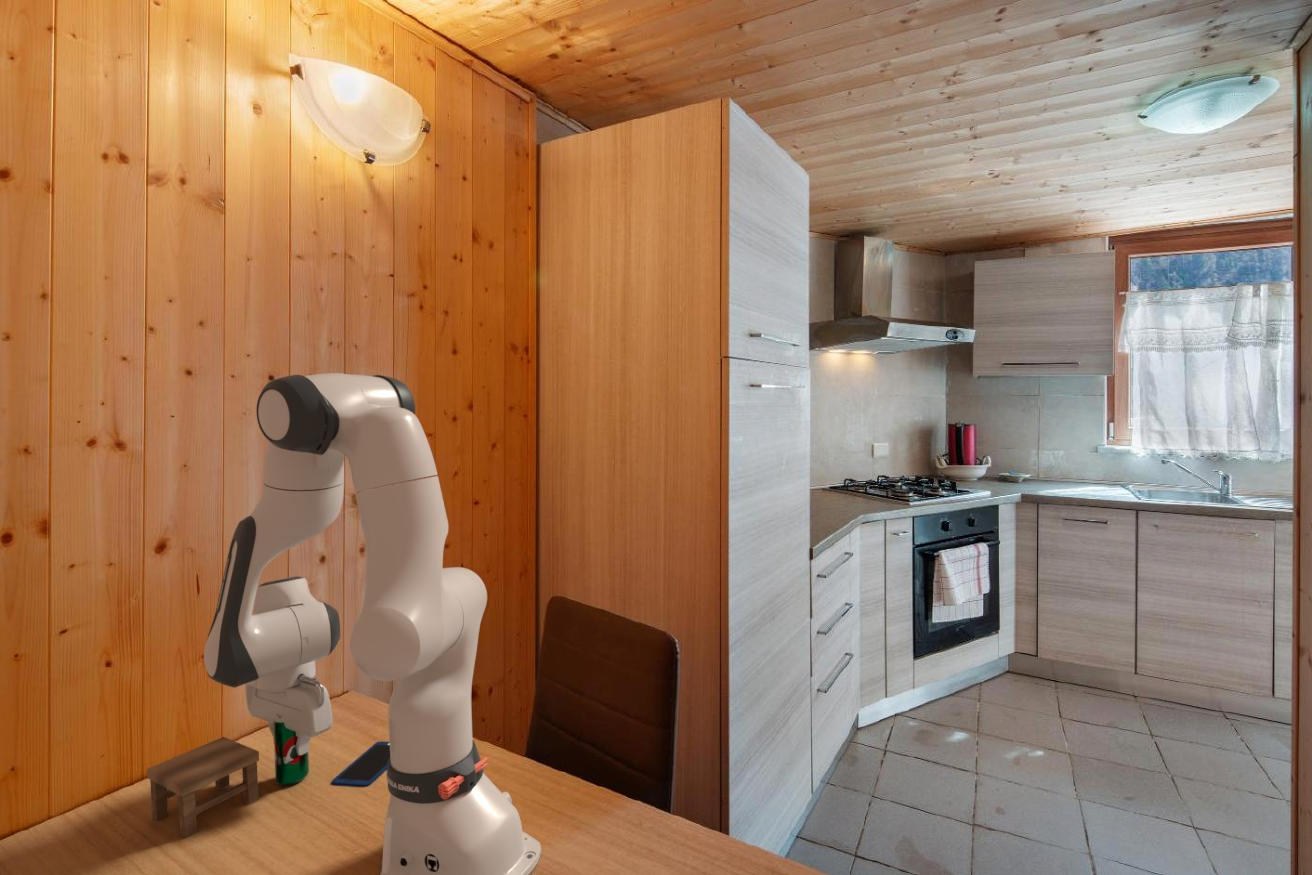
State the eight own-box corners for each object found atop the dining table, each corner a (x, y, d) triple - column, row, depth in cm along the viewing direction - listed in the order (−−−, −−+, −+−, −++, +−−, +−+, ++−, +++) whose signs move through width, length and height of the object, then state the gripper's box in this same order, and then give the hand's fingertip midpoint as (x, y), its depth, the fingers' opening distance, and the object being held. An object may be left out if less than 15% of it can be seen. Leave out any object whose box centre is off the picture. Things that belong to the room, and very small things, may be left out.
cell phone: (413, 746, 118) (413, 742, 118) (368, 789, 104) (368, 784, 104) (378, 744, 119) (377, 740, 119) (329, 786, 105) (329, 782, 105)
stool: (261, 798, 102) (258, 751, 102) (184, 839, 92) (181, 786, 92) (225, 782, 107) (223, 736, 107) (149, 818, 98) (147, 768, 97)
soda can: (315, 771, 109) (313, 704, 109) (295, 787, 104) (293, 717, 104) (289, 770, 110) (287, 703, 110) (268, 786, 105) (265, 716, 105)
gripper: (340, 672, 105) (344, 753, 105) (273, 655, 115) (277, 728, 115) (303, 687, 99) (308, 772, 99) (236, 667, 109) (241, 744, 110)
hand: (291, 748), depth 107 cm, fingers closed on soda can, 5 cm apart
